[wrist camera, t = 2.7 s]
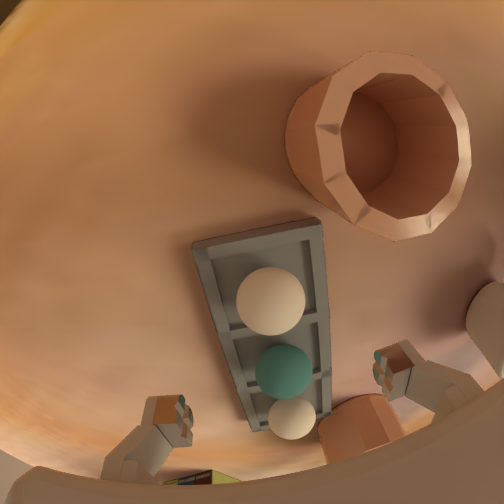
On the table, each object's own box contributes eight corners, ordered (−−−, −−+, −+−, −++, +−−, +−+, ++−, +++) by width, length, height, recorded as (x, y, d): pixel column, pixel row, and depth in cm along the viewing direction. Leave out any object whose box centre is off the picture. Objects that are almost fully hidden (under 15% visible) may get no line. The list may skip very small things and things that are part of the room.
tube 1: (394, 78, 15) (457, 62, 9) (409, 197, 18) (471, 223, 12) (272, 83, 15) (297, 50, 9) (296, 218, 18) (330, 256, 12)
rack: (193, 242, 18) (190, 250, 17) (316, 217, 18) (323, 223, 17) (250, 420, 25) (251, 432, 24) (328, 403, 25) (332, 414, 24)
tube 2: (393, 383, 25) (419, 428, 19) (383, 425, 28) (401, 464, 22) (316, 408, 25) (332, 461, 19) (318, 445, 28) (330, 488, 22)
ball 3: (308, 381, 22) (320, 417, 18) (311, 408, 24) (320, 441, 20) (261, 391, 22) (267, 428, 18) (269, 416, 24) (274, 451, 20)
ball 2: (303, 327, 20) (317, 364, 16) (307, 365, 21) (319, 402, 18) (248, 339, 20) (252, 378, 16) (257, 376, 21) (263, 414, 18)
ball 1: (293, 250, 18) (309, 279, 14) (300, 304, 19) (315, 340, 16) (229, 263, 18) (229, 296, 14) (242, 316, 19) (245, 355, 16)
